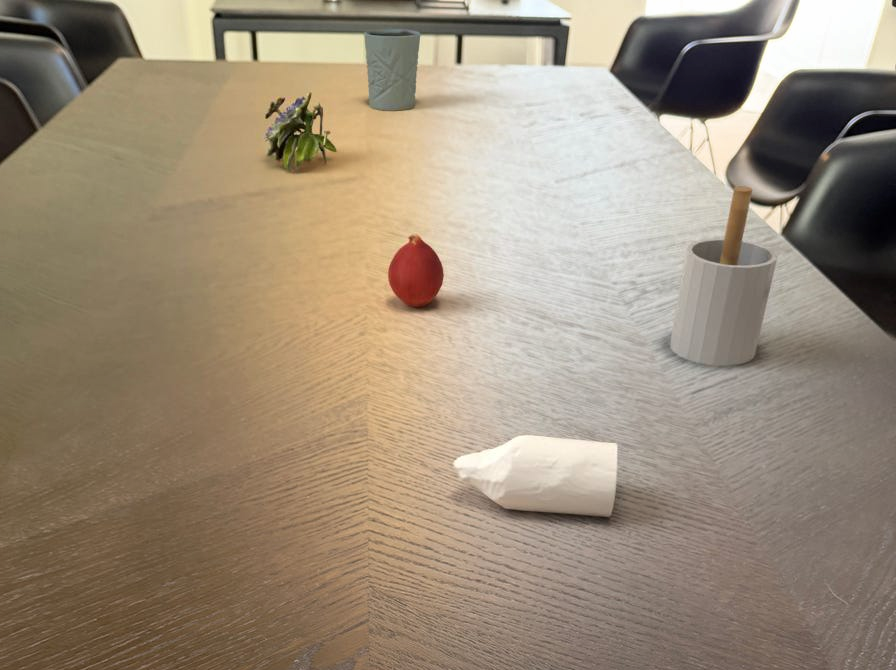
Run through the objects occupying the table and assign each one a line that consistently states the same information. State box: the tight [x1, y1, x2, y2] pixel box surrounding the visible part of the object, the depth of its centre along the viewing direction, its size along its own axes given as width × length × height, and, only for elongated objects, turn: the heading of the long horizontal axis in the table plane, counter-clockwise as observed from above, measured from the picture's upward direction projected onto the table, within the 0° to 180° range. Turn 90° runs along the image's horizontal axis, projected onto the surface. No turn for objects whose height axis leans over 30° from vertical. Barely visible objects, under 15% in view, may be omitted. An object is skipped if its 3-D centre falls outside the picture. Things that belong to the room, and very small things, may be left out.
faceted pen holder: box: [669, 237, 779, 367], centre depth 97 cm, size 8×8×10 cm
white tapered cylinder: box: [453, 434, 619, 518], centre depth 75 cm, size 6×12×6 cm, turn 83°
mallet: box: [719, 185, 753, 265], centre depth 95 cm, size 4×4×15 cm
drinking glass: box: [363, 28, 421, 112], centre depth 185 cm, size 10×10×12 cm
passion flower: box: [264, 91, 337, 173], centre depth 154 cm, size 11×11×12 cm
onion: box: [387, 233, 445, 308], centre depth 106 cm, size 6×6×8 cm
